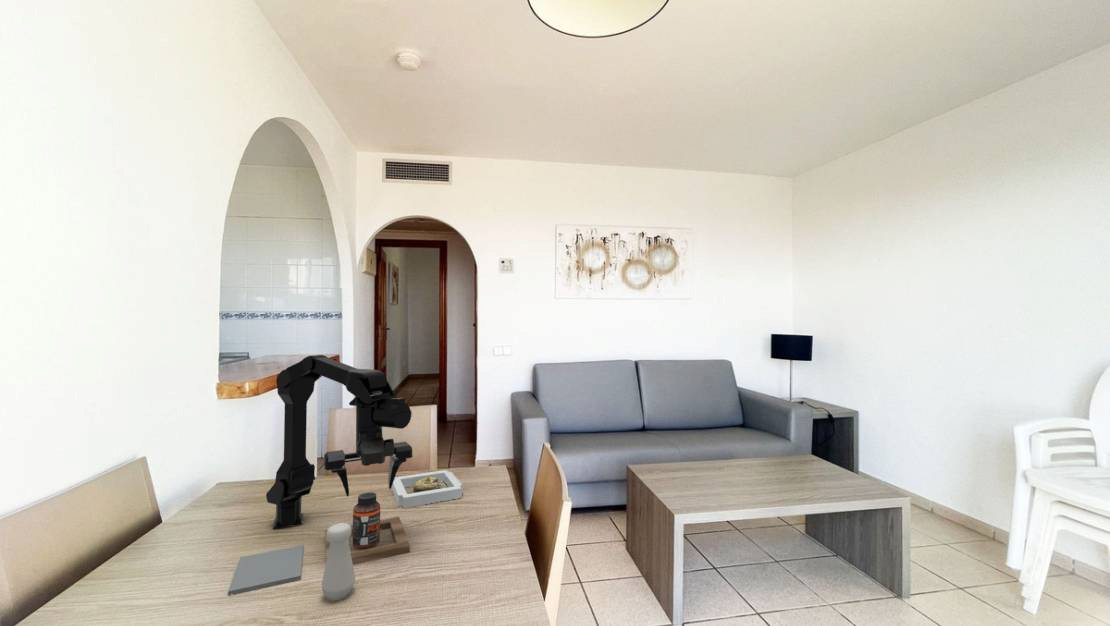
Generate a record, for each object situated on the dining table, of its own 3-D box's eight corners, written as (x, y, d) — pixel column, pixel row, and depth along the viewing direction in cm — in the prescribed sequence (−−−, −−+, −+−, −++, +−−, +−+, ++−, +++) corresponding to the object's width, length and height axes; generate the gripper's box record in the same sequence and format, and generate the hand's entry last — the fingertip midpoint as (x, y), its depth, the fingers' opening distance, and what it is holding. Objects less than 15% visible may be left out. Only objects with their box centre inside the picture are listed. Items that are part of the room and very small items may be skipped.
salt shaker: (329, 586, 89) (330, 519, 89) (359, 584, 89) (360, 518, 90) (315, 604, 83) (317, 533, 83) (348, 603, 84) (349, 532, 84)
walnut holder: (325, 535, 110) (325, 529, 110) (398, 522, 117) (399, 516, 117) (325, 570, 94) (325, 563, 95) (409, 552, 102) (410, 545, 102)
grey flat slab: (240, 560, 98) (240, 557, 98) (303, 548, 104) (303, 544, 104) (227, 595, 86) (228, 591, 86) (300, 579, 91) (300, 575, 91)
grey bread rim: (390, 487, 142) (391, 477, 142) (449, 478, 150) (449, 469, 150) (399, 509, 125) (399, 498, 125) (464, 497, 134) (464, 487, 134)
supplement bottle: (370, 551, 102) (370, 501, 103) (346, 548, 104) (347, 499, 104) (385, 539, 108) (385, 491, 108) (362, 536, 109) (363, 489, 110)
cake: (416, 504, 131) (414, 485, 131) (408, 493, 140) (407, 475, 140) (449, 494, 136) (448, 477, 136) (440, 484, 145) (439, 468, 145)
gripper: (327, 437, 95) (326, 512, 94) (417, 426, 104) (417, 495, 104) (324, 427, 104) (323, 495, 104) (407, 418, 114) (407, 480, 113)
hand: (369, 492), depth 106 cm, fingers open, 9 cm apart
